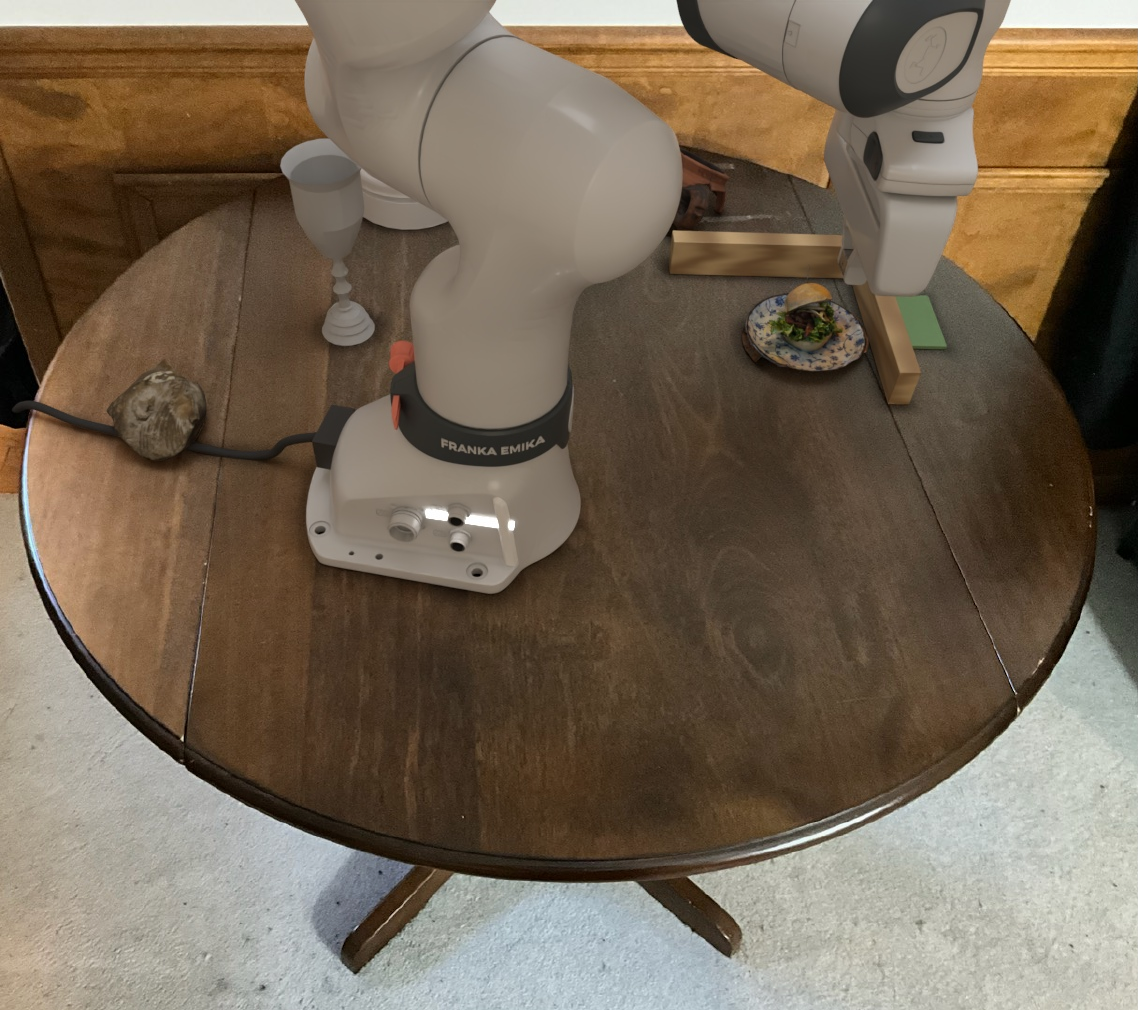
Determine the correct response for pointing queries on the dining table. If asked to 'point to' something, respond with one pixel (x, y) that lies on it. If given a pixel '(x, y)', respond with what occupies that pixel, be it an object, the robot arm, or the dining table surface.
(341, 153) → the chalice
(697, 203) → the pottery mug
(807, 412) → the dining table surface
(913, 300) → the green flat rectangular block
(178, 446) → the fossilized seashell
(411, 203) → the honey pot
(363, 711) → the dining table surface
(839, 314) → the burger
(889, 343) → the corner fence
